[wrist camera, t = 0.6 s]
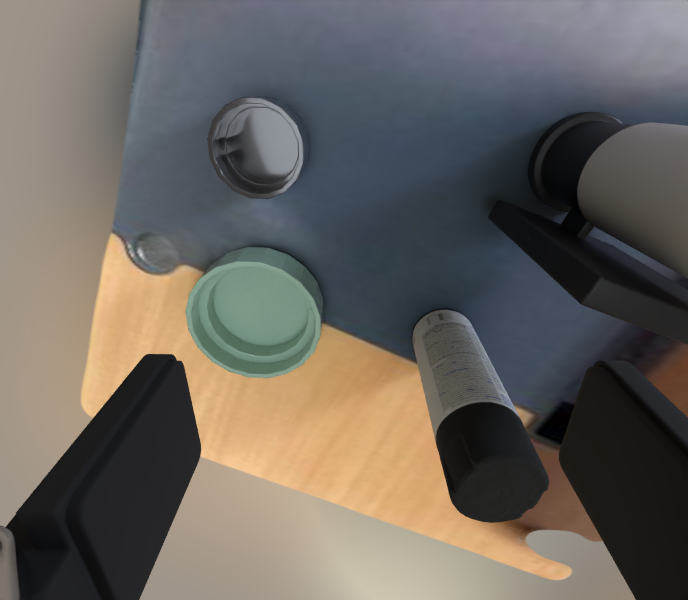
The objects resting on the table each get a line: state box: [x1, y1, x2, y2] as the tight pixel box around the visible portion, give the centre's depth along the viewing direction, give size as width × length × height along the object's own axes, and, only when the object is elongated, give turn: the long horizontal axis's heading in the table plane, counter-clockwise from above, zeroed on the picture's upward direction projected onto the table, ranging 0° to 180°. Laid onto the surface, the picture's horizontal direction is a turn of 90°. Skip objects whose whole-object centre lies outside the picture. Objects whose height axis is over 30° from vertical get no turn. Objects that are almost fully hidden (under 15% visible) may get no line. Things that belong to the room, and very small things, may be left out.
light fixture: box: [488, 112, 688, 345], centre depth 25 cm, size 12×11×25 cm
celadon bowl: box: [186, 247, 323, 378], centre depth 41 cm, size 13×13×4 cm
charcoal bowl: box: [208, 97, 309, 199], centre depth 33 cm, size 7×7×5 cm
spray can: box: [412, 310, 549, 523], centre depth 35 cm, size 7×7×20 cm
